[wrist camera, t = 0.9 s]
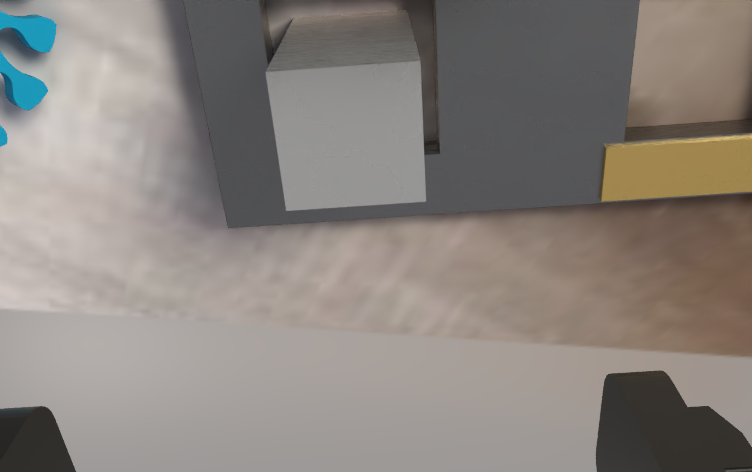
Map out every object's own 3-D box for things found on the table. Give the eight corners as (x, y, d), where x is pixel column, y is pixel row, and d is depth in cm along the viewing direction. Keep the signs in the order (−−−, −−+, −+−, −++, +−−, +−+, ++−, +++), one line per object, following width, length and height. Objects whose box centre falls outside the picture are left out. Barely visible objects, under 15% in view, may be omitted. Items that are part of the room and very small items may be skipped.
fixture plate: (897, -136, 24) (931, -136, 23) (817, 173, 30) (840, 189, 28) (178, -79, 25) (166, -76, 23) (234, 212, 31) (227, 230, 29)
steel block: (407, 10, 26) (420, 61, 19) (412, 119, 29) (426, 201, 22) (293, 18, 27) (265, 72, 20) (306, 127, 29) (286, 210, 22)
